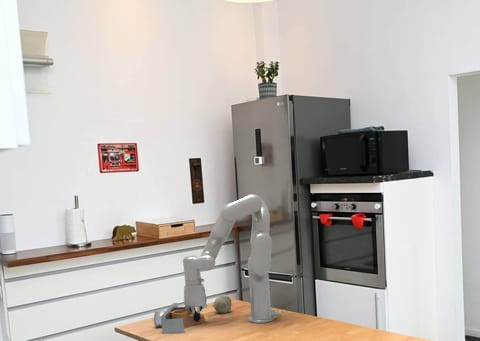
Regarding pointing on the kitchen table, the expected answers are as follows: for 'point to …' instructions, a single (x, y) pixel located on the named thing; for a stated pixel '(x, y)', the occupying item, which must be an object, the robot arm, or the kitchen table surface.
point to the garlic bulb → (222, 304)
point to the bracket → (186, 317)
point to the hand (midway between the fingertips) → (197, 321)
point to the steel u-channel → (169, 320)
